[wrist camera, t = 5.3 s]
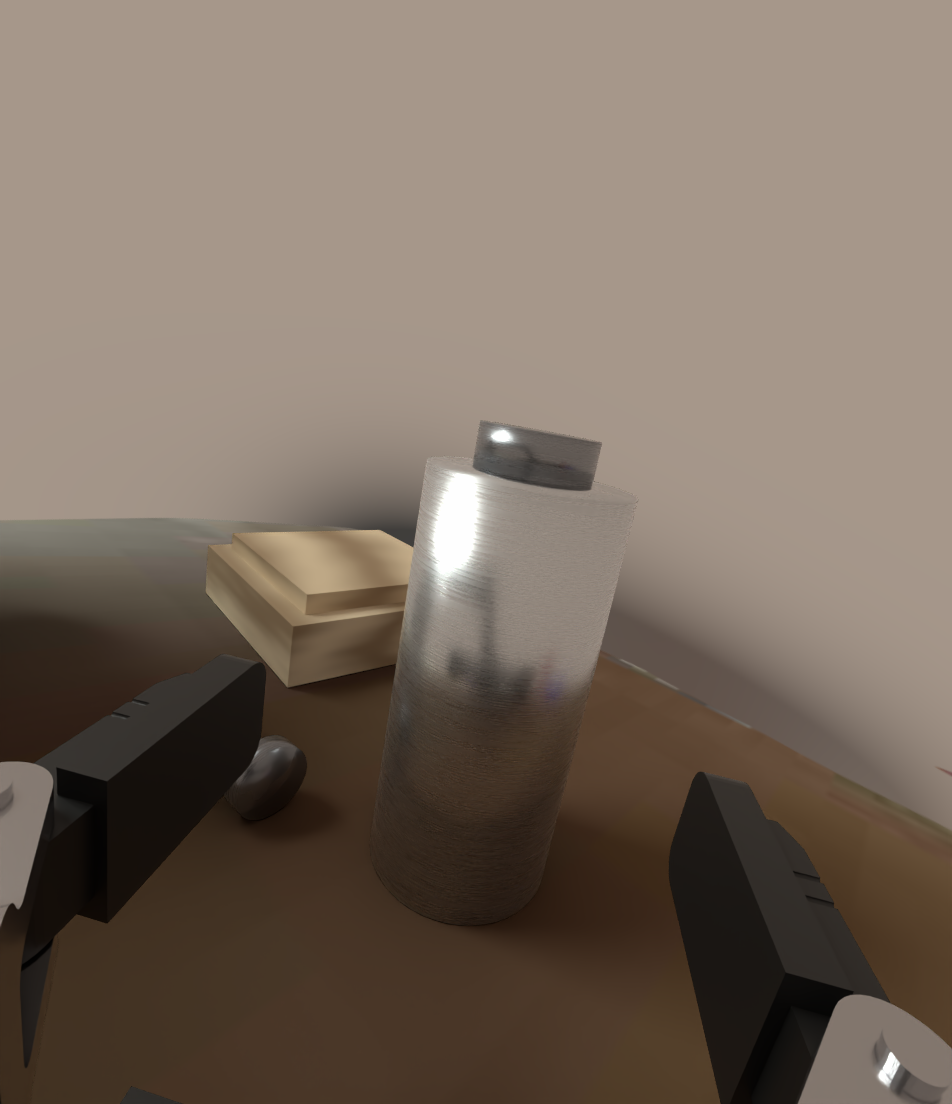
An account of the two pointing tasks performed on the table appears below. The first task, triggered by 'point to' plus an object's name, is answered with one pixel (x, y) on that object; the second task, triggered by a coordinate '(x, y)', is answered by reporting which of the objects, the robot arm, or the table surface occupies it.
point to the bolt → (268, 779)
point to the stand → (314, 598)
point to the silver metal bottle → (494, 669)
